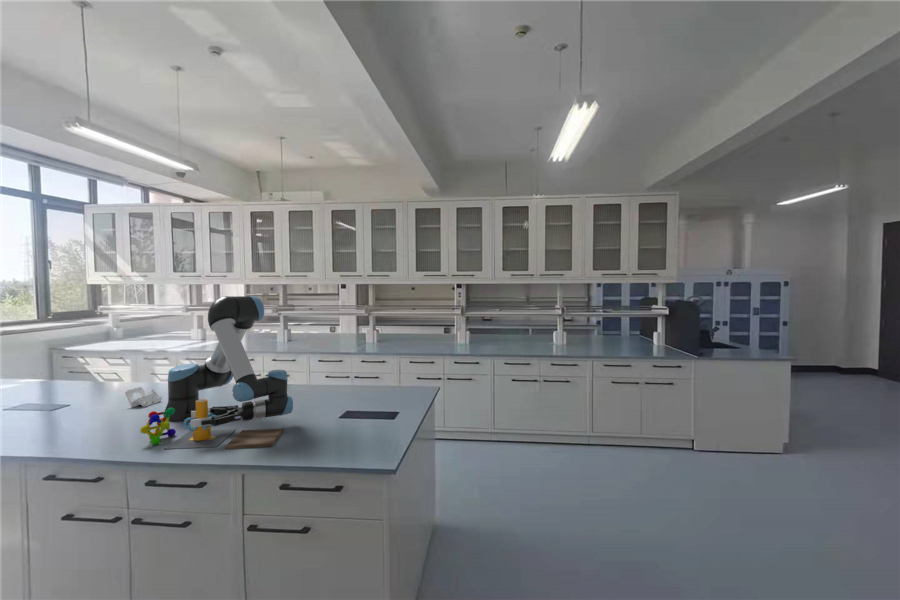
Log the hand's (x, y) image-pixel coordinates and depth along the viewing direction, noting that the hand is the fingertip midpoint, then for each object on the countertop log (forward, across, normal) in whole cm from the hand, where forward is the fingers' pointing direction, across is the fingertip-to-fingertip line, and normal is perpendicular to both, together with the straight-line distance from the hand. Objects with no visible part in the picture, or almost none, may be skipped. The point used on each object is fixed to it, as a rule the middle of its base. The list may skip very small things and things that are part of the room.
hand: (190, 419), depth 151 cm
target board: (-22, -12, -8) cm, 26 cm away
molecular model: (+10, +8, -9) cm, 16 cm away
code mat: (-4, 0, -8) cm, 9 cm away
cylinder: (-4, 0, -8) cm, 9 cm away
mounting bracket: (+20, +70, -9) cm, 74 cm away
